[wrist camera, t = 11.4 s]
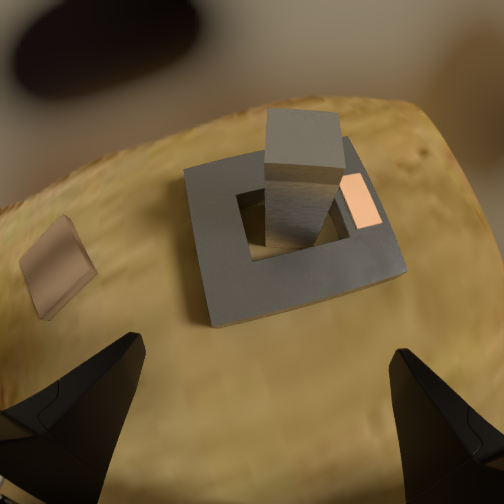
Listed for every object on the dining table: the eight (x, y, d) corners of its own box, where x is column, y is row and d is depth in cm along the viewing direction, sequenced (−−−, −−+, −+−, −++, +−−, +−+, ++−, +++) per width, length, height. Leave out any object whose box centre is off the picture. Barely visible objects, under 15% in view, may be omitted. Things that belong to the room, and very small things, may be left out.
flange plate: (395, 278, 23) (409, 270, 21) (217, 328, 23) (211, 326, 20) (342, 151, 28) (348, 134, 25) (189, 183, 27) (182, 168, 25)
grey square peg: (311, 249, 24) (345, 168, 13) (265, 246, 25) (264, 162, 13) (311, 207, 26) (337, 113, 14) (267, 205, 26) (267, 107, 15)
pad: (97, 273, 25) (89, 269, 23) (49, 321, 23) (40, 319, 22) (70, 219, 27) (63, 213, 25) (27, 264, 25) (19, 260, 24)
